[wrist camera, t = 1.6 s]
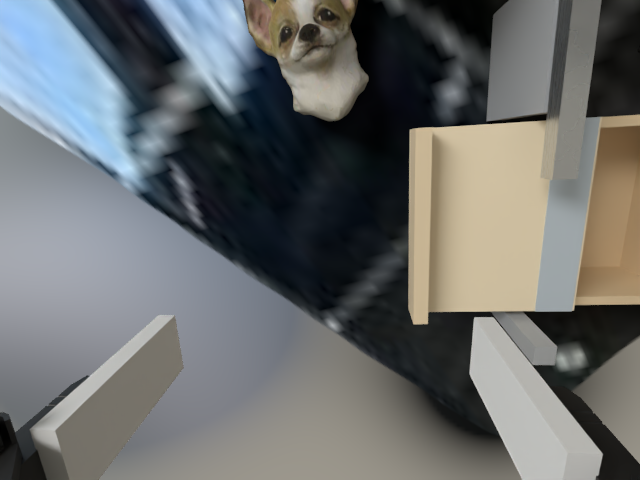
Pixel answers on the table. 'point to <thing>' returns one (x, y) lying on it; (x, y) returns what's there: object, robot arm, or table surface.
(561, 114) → the bar
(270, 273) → the table surface
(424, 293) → the lid
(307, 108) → the ceramic sculpture
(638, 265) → the carton
